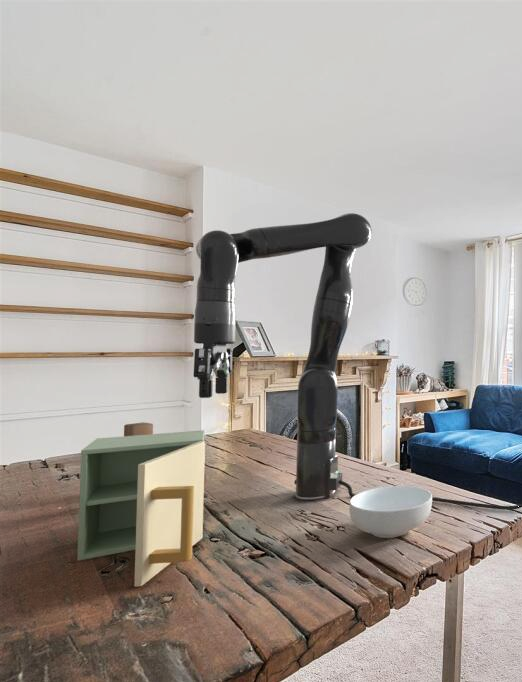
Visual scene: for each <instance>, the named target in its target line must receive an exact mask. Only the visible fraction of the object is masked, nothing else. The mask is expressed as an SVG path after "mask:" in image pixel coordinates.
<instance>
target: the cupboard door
mask: <svg viewBox="0 0 522 682" xmlns="http://www.w3.org/2000/svg"><path fill="white" fill-rule="evenodd" d="M205 455H206V440H204V441H199V442H197V443H194V444H192V445H189V446H186V447H184V448H181V449H178V450H176V451H173V452H170V453H168V454H165V455H162V456H160V457H157V458H155V459H152V460H149V461H147V462H144V463H141V464H139V465H138V488H137V520H136V550H135V553H134V555H135V557H134V585H133V586H134V588H136V587H142V586H143V585H145V584H146V583H148V582H149V581H150V580H151V579H153V578H154V577H155V576H156V575H158V574H159V573H160V572H161V571H163V570H164V569H165V568H167V567H168V566H169V565H171V564H172V563H186V562H189V561H191V560H192V558H193V546H194V545H196V544H197V543H198V542H199V541H201V540H202V539H203V538H204V537H203V534H204V533H203V531H204V527H203V526H204V501H205V500H204V499H205V497H204V495H205V488H204V471H205V468H206V467H205V464H206V463H205V462H206V461H205V460H206V456H205Z"/></svg>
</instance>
